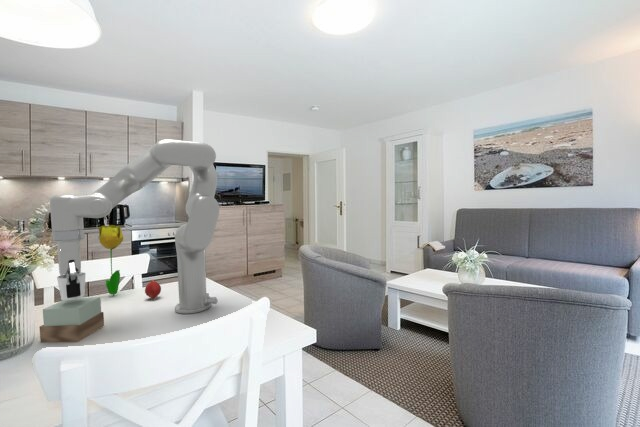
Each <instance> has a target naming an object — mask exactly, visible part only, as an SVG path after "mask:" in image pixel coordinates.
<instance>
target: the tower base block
mask: <svg viewBox="0 0 640 427" xmlns="http://www.w3.org/2000/svg"><path fill="white" fill-rule="evenodd" d="M103 326H104V327H105V317H104V311H101V313H99V314H97V315H96V316H94V317H92V318H91V319H89V320H87V321H86V322H84V323H82V324H81V325H65V326H44V324H42V325H39V338H40V341H39V342H40V343H79V342H80V341H82V340H84V339H85V338H87V337H88V336H90V335H92V334H94V333H96V332H97V331H99V330H100V329H102V328H104V327H103ZM101 327H102V328H101ZM98 329H99V330H98Z"/></svg>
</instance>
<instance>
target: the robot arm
mask: <svg viewBox="0 0 640 427" xmlns="http://www.w3.org/2000/svg"><path fill="white" fill-rule="evenodd" d="M216 159H217V154H216V151H215V149H214V148H213V147H212V146H211V145H209V144H208V143H205V142H201V141H200V142H199V141H188V140H179V139H172V138H171V139H170V138H169V139H160V140H159V141H157V142H156V143H155V144H153V145H152V146H151V147H149V148H148V149H146V150H145V151H144V152H143V153H141V154H139V156H137V157H136V158H134V159H133V160H131V162H129V163H128V164H126V165H125V166H124V167H122V168H121V169H120V170H119V171H118V172H117V173H116V174H115V175H114V176H113V177H111V178H110V180H108V181H107V182H105V184H103V185H101V186H100V187H99V188H98V189H96V190H95V191H94V192H92V193H90V194H85V195H84V194H83V195H76V194H59V195H57V194H56V195H52V196H51V197H50V198H49V208H50V221H51V236H52V243H57V260H58V272H59V273H58V274H59V276H63V275H64V274H66V277H67V285H66V291H67V298H72V297H77V296H80V295H81V292H80V282H79V278H78V273H80V272H82V256H81V255H82V252H81V251H82V250H81V241H85V230H84V229H85V227H84V218H89V219H91V218H92V219H101V218H104V217H106V216H108V215H109V214H110V213H111V212H112V209H114V208H115V207H116V206H118V205H119V204H120V203H121V202H122V201H124V200H125V199H127V198H128V197H129V196H131V195H132V194H134V193H136V192H138V191H140V190H142V189H143V188H145V187H146V186H147V185H149V184H150V183H151V182H152V181H154V180H155V179H156V178H157V177H159V176H160V175H161V174H163V172H164V171H166V170H168V168H170V167H172V166H178V167H189V168H190V170H191V171H192V175H193V181H192V185H191V188H190V192H189V195H188V199H187V201H186V204H185V213H186V215H187V217H188V219H187V222H186V223H183V224H182V225H180V226H179V227H178V228H177V230H176V232H175V235H174V241H175V243H174V244H175V249H176V250H175V251H176V259H177V261H176V262H177V279H178V280H177V284H178V285H177V286H178V302H179V303H177V304H176V305H175V306H174V311H175V312H176V313H178V314H185V315H186V314H188V315H189V314H195V313H196V314H197V313H199V312H201V313H202V312H205V311H206V310H208V309H209V308H211V307H212V305H217V304H218V298H217V297H216V296H210V293H209V292H208V293H207V276H206V274H207V273H206V254H205V253H206V252H205V250H206V249H208V247H209V246H210V244H211V242H212V240H213V237H214V233H215V230H216V227H217V223H218V219H219V216H220V206H219V205H220V204H219V202H218V201H217V199H216V198H215V195H216V192H217V187H218V179H219V178H218V173H217V172H218V171H217V170H216V168H215V166H214V163H215V162H216ZM60 249H61V251H60ZM59 251H60V252H59ZM69 273H70V274H69ZM69 276H70V277H69Z"/></svg>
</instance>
